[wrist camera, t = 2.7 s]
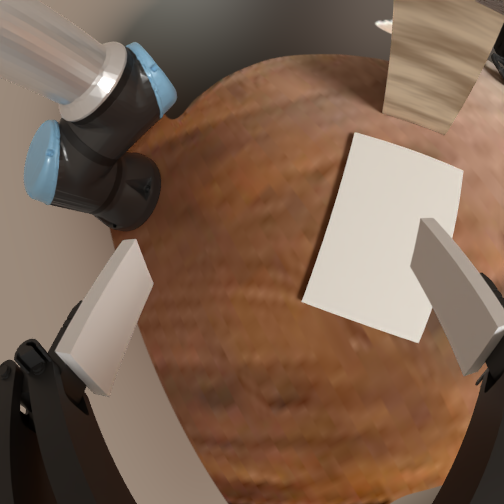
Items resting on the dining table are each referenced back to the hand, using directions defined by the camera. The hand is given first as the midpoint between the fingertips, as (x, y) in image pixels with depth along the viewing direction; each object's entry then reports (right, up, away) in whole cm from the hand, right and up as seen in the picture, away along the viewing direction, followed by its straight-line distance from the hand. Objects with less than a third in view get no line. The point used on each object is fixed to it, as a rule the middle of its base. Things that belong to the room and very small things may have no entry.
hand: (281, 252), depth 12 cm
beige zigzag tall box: (+26, +25, +23) cm, 43 cm away
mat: (+18, +3, +24) cm, 30 cm away
